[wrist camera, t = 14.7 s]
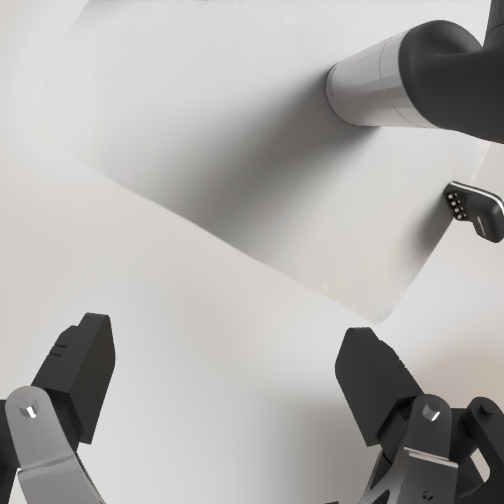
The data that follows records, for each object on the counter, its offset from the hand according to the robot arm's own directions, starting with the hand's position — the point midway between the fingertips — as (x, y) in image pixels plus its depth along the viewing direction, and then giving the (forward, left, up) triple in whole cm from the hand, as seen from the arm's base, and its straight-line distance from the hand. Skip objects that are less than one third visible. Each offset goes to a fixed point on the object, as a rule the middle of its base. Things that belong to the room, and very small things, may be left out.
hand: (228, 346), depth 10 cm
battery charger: (-36, -3, -30) cm, 47 cm away
